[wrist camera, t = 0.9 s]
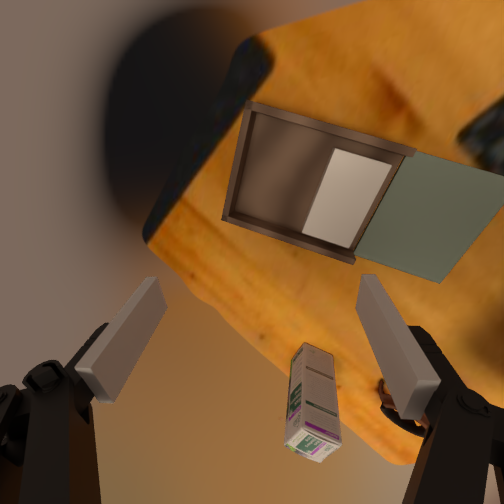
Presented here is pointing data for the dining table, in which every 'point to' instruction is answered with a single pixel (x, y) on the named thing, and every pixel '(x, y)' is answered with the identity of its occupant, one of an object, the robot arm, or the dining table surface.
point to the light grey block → (344, 196)
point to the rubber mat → (430, 216)
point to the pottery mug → (394, 416)
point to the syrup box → (312, 405)
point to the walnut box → (294, 173)
